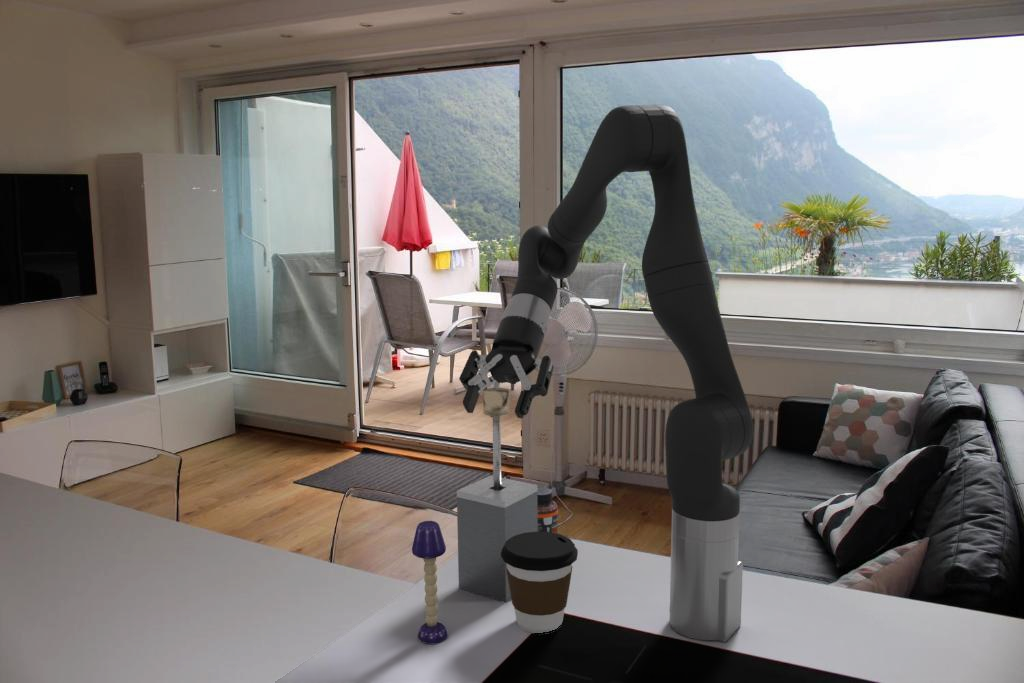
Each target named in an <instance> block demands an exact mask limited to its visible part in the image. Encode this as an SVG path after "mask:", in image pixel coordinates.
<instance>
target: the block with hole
mask: <svg viewBox="0 0 1024 683" xmlns="http://www.w3.org/2000/svg"><path fill="white" fill-rule="evenodd" d="M537 488H538V484H534V483H529V482H523V481H519V480H514V479H509V478H506V477H501V490H500V491H498V490H494V483H493V475H489V476H487V477H485V478H482V479H479V480H478V481H475V482H473V483H471V484H469V485H467V486H464V487H462V488H460V489H457V490H456V514H457V515H456V516H457V518H456V520H457V521H456V522H457V558H458V559H457V562H458V564H457V565H458V567H457V568H458V569H457V570H458V589H459V588H461V589H460V590H462V589H465V590H464V591H466V590H468V591H467V592H469V591H470V592H469V593H472V592H473V594H476V595H479V594H480V595H479V596H483V597H486V598H489V599H493V600H496V601H499V602H502V601H503V603H505V602H506V603H508V602H510V599H511V594H510V588H509V582H508V576H507V571H506V568H507V564H506V563H505V562H504V561H503V559H502V557H501V551H502V548H503V546H504V545H505V542H506V541H507V540H508V539H510V538H511V537H513V536H515V535H518V534H522V533H527V532H538V509H537ZM511 600H512V599H511ZM507 601H508V602H507Z"/></svg>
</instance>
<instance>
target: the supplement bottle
mask: <svg viewBox="0 0 1024 683" xmlns="http://www.w3.org/2000/svg"><path fill="white" fill-rule="evenodd" d="M537 509H538V532H551V533H556V534H559V530H558V529H559V521H558V520H559V513H558V512H559V507H558V504H557V503H556V502H555V501H554V500H553V490H552V489H550V488H549V487H537Z"/></svg>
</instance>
